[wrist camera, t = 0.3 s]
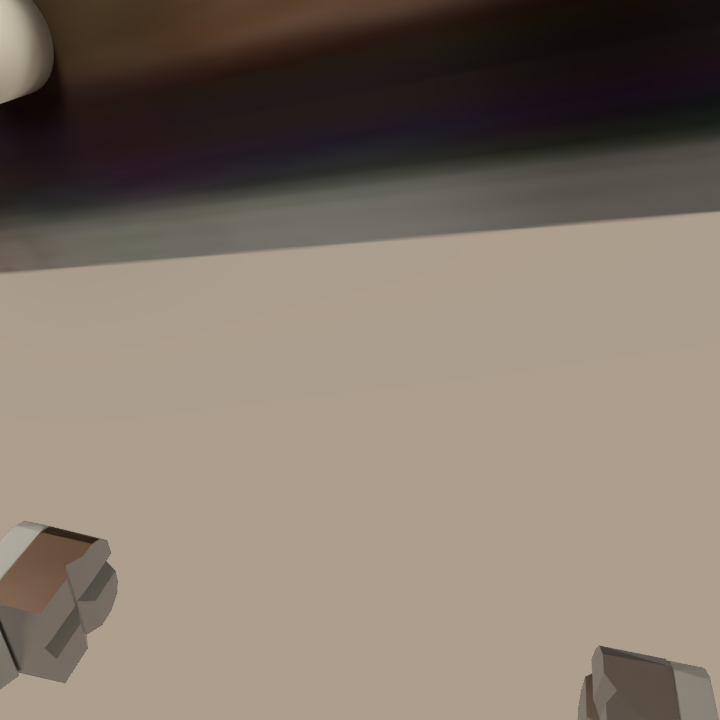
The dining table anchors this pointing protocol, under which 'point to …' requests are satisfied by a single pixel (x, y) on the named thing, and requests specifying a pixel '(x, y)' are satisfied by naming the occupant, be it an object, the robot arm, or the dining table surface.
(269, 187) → the dining table surface
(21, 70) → the white rounded lump
